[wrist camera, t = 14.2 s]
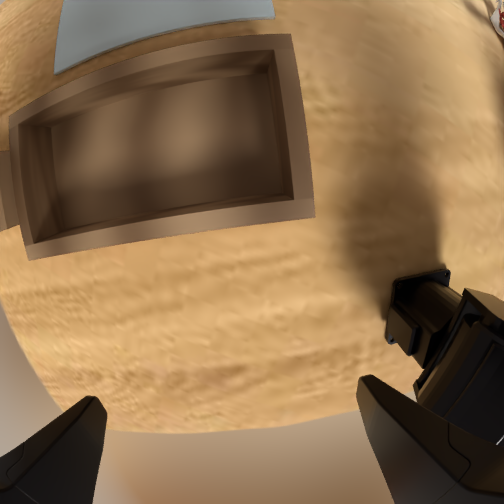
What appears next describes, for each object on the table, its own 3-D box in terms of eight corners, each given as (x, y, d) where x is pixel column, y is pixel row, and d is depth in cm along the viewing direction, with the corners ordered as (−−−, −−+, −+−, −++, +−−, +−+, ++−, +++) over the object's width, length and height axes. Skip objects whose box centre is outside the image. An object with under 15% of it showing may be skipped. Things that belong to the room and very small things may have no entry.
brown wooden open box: (278, 64, 15) (313, -18, 6) (295, 204, 18) (353, 244, 9) (5, 144, 15) (-76, 151, 6) (21, 250, 18) (-53, 294, 9)
